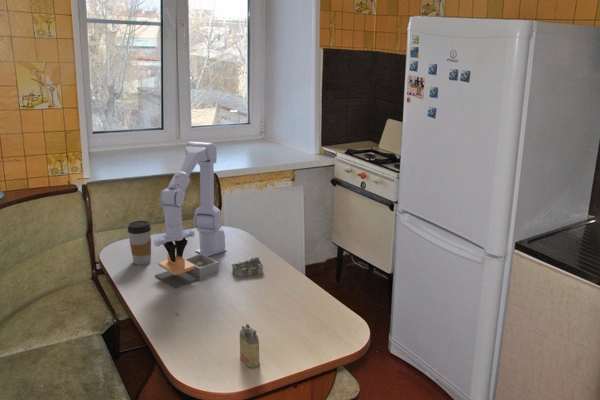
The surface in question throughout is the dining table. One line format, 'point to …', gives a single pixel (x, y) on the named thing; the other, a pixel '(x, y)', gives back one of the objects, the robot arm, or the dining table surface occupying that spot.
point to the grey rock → (248, 267)
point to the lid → (176, 265)
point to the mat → (177, 278)
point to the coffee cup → (140, 241)
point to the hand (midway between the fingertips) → (176, 260)
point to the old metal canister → (249, 347)
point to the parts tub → (202, 265)
